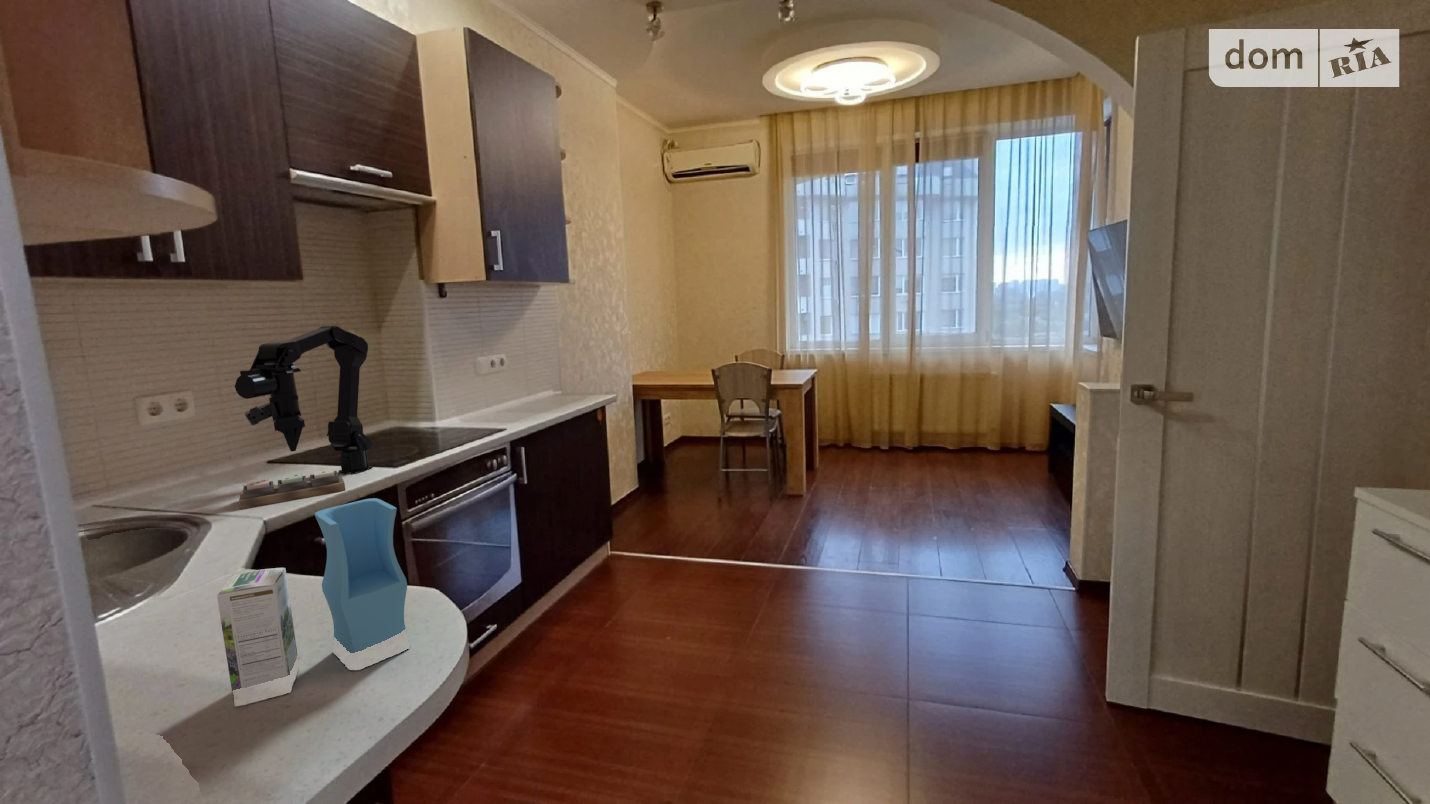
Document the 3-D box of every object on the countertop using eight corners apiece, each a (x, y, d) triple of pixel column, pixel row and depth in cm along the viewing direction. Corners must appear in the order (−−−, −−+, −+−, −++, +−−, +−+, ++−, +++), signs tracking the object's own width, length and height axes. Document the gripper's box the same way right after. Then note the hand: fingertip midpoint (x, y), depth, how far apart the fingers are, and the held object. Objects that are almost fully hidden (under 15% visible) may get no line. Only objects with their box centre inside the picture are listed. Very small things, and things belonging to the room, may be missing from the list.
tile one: (333, 476, 165) (332, 468, 164) (335, 479, 161) (334, 472, 161) (314, 479, 162) (313, 471, 162) (315, 482, 159) (314, 475, 158)
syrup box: (246, 683, 77) (227, 574, 75) (302, 669, 80) (285, 564, 77) (234, 709, 72) (213, 594, 70) (293, 694, 75) (275, 582, 72)
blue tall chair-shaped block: (351, 674, 78) (329, 525, 75) (331, 652, 84) (310, 512, 80) (415, 647, 84) (397, 507, 81) (392, 628, 89) (375, 496, 86)
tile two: (302, 481, 161) (301, 473, 160) (303, 484, 157) (302, 477, 157) (282, 484, 158) (280, 476, 158) (282, 488, 155) (281, 480, 154)
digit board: (342, 482, 168) (340, 468, 167) (345, 490, 161) (343, 475, 160) (241, 500, 155) (238, 485, 155) (240, 509, 148) (237, 493, 147)
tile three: (269, 486, 157) (268, 479, 156) (269, 490, 153) (268, 482, 153) (248, 490, 154) (247, 482, 154) (247, 494, 151) (246, 486, 150)
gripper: (244, 392, 159) (254, 450, 162) (243, 400, 145) (255, 464, 147) (295, 386, 166) (304, 442, 169) (299, 394, 151) (309, 455, 154)
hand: (293, 451), depth 159 cm, fingers closed
